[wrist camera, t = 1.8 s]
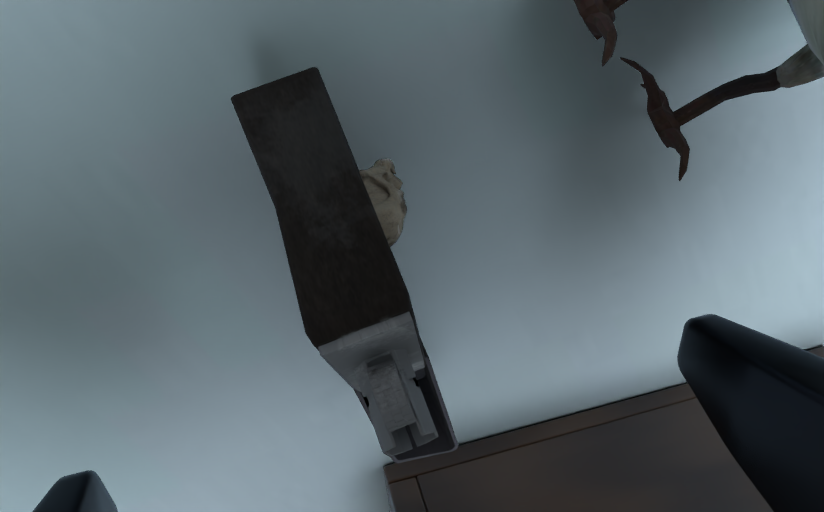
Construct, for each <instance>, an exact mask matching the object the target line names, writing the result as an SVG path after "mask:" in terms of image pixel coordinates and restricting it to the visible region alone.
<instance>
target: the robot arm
mask: <svg viewBox="0 0 824 512" xmlns="http://www.w3.org/2000/svg"><path fill="white" fill-rule="evenodd" d="M677 359H678V365H679V368H680V371H681V373H682V374H683V376H684V378H685V379H686V381H687V383H688V384H689V386H690V388H691V389H692V391H693V393H694V394H695V396H696V398H697V399H698V401H699V403H700V404H701V406H702V408H703V409H704V411H705V413H706V414H707V416H708V418H709V419H710V421H711V423H712V424H713V426H714V428H715V429H716V431H717V433H718V434H719V436H720V438H721V439H722V441H723V442H724V444H725V445H726V447H727V449H728V450H729V452H730V453H731V455H732V456H733V457H734V459H735V460H736V462H737V463H738V464H739V466H740V467H741V469H742V470H743V471H744V473H745V474H746V475H747V477H748V478H749V479H750V481H751V482H752V483H753V485H754V486H755V487H756V489H757V490H758V491H759V493H760V494H761V495H762V497H763V498H764V499H765V501H766V502H767V503H768V505H769V506H770V508H771V509H772V510H773V512H824V358H823V357H820V356H818V355H815V354H813V353H810V352H808V351H805V350H803V349H800V348H798V347H795V346H793V345H790V344H788V343H785V342H783V341H780V340H777V339H775V338H772V337H770V336H767V335H765V334H762V333H760V332H757V331H755V330H752V329H750V328H747V327H745V326H742V325H740V324H737V323H735V322H732V321H730V320H727V319H725V318H722V317H720V316H717V315H713V314H707V315H703V316H699V317H695V318H691V319H689V320H688V321H687V322H686V323H685V325H684V329H683V333H682V338H681V342H680V347H679V351H678V356H677ZM33 512H118V511H117V508H116V505H115V503H114V501H113V500H112V498H111V496H110V494H109V493H108V491H107V489H106V488H105V486H104V484H103V482H102V481H101V479H100V477H99V476H98V474H97V473H96V472H94V471H92V470H90V471H89V470H87V471H84V472H80V473H76V474H72V475H68V476H64V477H62V478H60V479H59V480H58V481H57V482H56V483H55V484H54V485H53V486H52V488H51V489H50V490H49V491H48V493H47V494H46V495H45V496H44V498H43V499H42V500H41V502H40V503H39V504H38V505H37V507H36V508H35V509H34V510H33Z"/></svg>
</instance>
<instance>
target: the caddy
mask: <svg viewBox="0 0 824 512" xmlns="http://www.w3.org/2000/svg"><path fill="white" fill-rule="evenodd" d="M808 352H810V353H813V354H815V355H818V356H820V357H823V358H824V346H822V347H819V348H815V349H811V350H808ZM384 475H385V481H386V487H387V493H388V500H389V506H390V512H773V510H772V509H771V508H770V506H769V505H768V503H767V502H766V501H765V499H764V498H763V497H762V495H761V494H760V493H759V491H758V490H757V489H756V487H755V486H754V485H753V483H752V482H751V481H750V479H749V478H748V477H747V475H746V474H745V473H744V471H743V470H742V469H741V467H740V466H739V464H738V463H737V462H736V460H735V459H734V457H733V456H732V455H731V453H730V452H729V450H728V449H727V447H726V445H725V444H724V442H723V441H722V439H721V438H720V436H719V434H718V433H717V431H716V429H715V428H714V426H713V424H712V423H711V421H710V419H709V418H708V416H707V414H706V413H705V411H704V409H703V408H702V406H701V404H700V403H699V401H698V399H697V398H696V396H695V394H694V393H693V391H692V389H691V388H690V386H689V384H688V383H687V384H683V385H680V386H676V387H672V388H669V389H665V390H661V391H658V392H654V393H650V394H647V395H643V396H639V397H636V398H632V399H628V400H625V401H621V402H617V403H614V404H610V405H606V406H603V407H599V408H595V409H592V410H588V411H584V412H581V413H577V414H573V415H570V416H566V417H562V418H559V419H555V420H552V421H548V422H544V423H541V424H537V425H533V426H530V427H526V428H522V429H519V430H515V431H511V432H508V433H504V434H500V435H497V436H493V437H489V438H486V439H482V440H478V441H475V442H471V443H467V444H464V445H460V446H458V448H457V449H456V450H455V451H453V452H448V453H443V454H439V455H434V456H429V457H425V458H420V459H416V460H411V461H406V462H402V463H394V464H391V465H387V466H385V467H384Z"/></svg>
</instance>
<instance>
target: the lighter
mask: <svg viewBox="0 0 824 512" xmlns="http://www.w3.org/2000/svg"><path fill="white" fill-rule="evenodd" d="M231 101H232V104H233V106H234V109H235V111H236V113H237V116H238V118H239V121H240V123H241V126H242V128H243V130H244V133H245V135H246V138H247V140H248V143H249V145H250V147H251V150H252V152H253V155H254V157H255V160H256V162H257V164H258V167H259V169H260V172H261V174H262V177H263V179H264V181H265V184H266V186H267V189H268V191H269V194H270V196H271V199H272V201H273V203H274V206H275V209H276V213H277V217H278V221H279V225H280V229H281V233H282V238H283V242H284V246H285V250H286V254H287V258H288V262H289V266H290V271H291V275H292V279H293V283H294V287H295V291H296V295H297V299H298V304H299V308H300V312H301V316H302V320H303V324H304V328H305V332H306V334H307V336H308V338H309V339H310V341H311V342H312V344H313V345H314V346H315V347H316V348H317V349H318V351H319V352H320V355H321V356H322V357H323V358H324V359H325V361H326V362H327V363H328V364H329V365H330V366H331V367H332V368H333V369H334V370H335V371H336V372H337V373H338V374H339V375H340V376H341V377H342V378H343V379H344V380H345V381H346V382H347V383H348V384H349V385H350V386H351V387H352V388H354V391H355V393H356V394H357V396H358V398H359V400H360V402H361V404H362V406H363V408H364V409H365V411H366V413H367V415H368V417H369V419H370V421H371V423H372V424H373V426H374V429H375V432H376V435H377V437H378V440H379V443H380V446H381V449H382V452H383V453H384V454H386V455H388V456H389V457H391V458H392V460H393V461H394V462H395V463H402V462H406V461H411V460H416V459H420V458H425V457H429V456H434V455H439V454H443V453H448V452H453V451H455V450H456V449H457V448H458V446H459V445H458V442H457V440H456V437H455V434H454V431H453V428H452V425H451V422H450V419H449V416H448V413H447V410H446V407H445V404H444V401H443V398H442V395H441V392H440V389H439V387H438V384H437V381H436V378H435V375H434V372H433V369H432V366H431V363H430V360H429V357H428V355H427V353H426V350H425V348H424V346H423V343H422V341H421V338H420V336H419V332H418V328H417V324H416V320H415V316H414V312H413V308H412V305H411V301H410V297H409V293H408V290H407V288H406V286H405V283H404V281H403V278H402V276H401V273H400V271H399V268H398V266H397V263H396V261H395V258H394V256H393V254H392V251H391V249H390V246H392V245H393V244H394V243H395V242H396V241H397V240H398V238H399V236H400V234H401V232H402V229H403V222H404V218H405V215H406V211H407V207H406V204H405V200H404V198H403V195H404V193H403V191H401V190H400V188H401V186H402V184H403V183H402V181H401V180H400V179H398V178H397V177H396V176H394V175H393V174H396V172H395V171H394V164H393V162H392V160H390V159H388V158H385V159H381V160H378V161H376V162H375V164H374V165H373V167H371V168H369V169H367V170H360V171H359V170H358V167H357V165H356V162H355V160H354V157H353V155H352V152H351V150H350V147H349V145H348V142H347V140H346V137H345V135H344V132H343V130H342V127H341V125H340V122H339V120H338V117H337V115H336V112H335V110H334V107H333V105H332V102H331V100H330V97H329V95H328V92H327V90H326V87H325V85H324V82H323V80H322V77H321V75H320V72H319V70H318V68H316V67H312V68H309V69H306V70H304V71H301V72H298V73H295V74H292V75H290V76H287V77H284V78H281V79H278V80H276V81H273V82H270V83H267V84H264V85H262V86H259V87H256V88H253V89H250V90H248V91H245V92H242V93H239V94H236V95H234V96H232V97H231Z"/></svg>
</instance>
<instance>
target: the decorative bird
mask: <svg viewBox="0 0 824 512" xmlns="http://www.w3.org/2000/svg"><path fill="white" fill-rule="evenodd" d="M627 1H628V0H574V2H575V4H576V6H577V9H578V11H579V13H580V15H581V17H582V19H583V20H584V22H585V24H586V25H587V27H588V29H589V30H590V32H591V33H592V34H593V36H594V37H595V38H596V39H597V40H598V39H599V38H601V37H603V38H604V39H605V45H604V51H603V58H602V66H604V65H605V63H606V62H607V61H608V60H609V59H610V58H611V57H612V55H613V52H614V48H615V45H616V40H617V31H616V28H615V26H614V23H613V22H614V20H615V13H614V10H615V9H617V8H618V7H620V6H621V5H623V4H624V3H625V2H627ZM787 1H788V3H789V5H790V7H791V9H792V12H793V14H794V16H795V18H796V20H797V22H798V24H799V26H800V29H801V31H802V33H803V35H804V37H805V39H806V41H807V43H808V44H807V45H805V46H804V47H803V48H802V49H800V50H799V51H798V52H796V53H795V54H794V55H793V56H791V57H790V58H789V59H788V60H786V61H785V62H784V63H782V64H781V65H780V66H778V67H776V68H774V69H772V70H770V71H768V72H766V73H762V74H754V75H745V76H743V77H740V78H738V79H735V80H733V81H730V82H728V83H725V84H723V85H721V86H719V87H717V88H715V89H713V90H711V91H709V92H707V93H706V94H704V95H702V96H700V97H698V98H697V99H695V100H693V101H692V102H690V103H688V104H686V105H685V106H683V107H681V108H680V109H678V110H676V111H674V112H673V111H672V110H671V108H670V107H669V103H668V99H667V97H666V95H665V92H664V91H662V90H660V89H659V87H658V85H657V83H656V81H655V79H654V77H653V75H652V74H650V73H649V72H648V71H646V70H645V69H644V68H643V67H641V66H640V65H639V64H638V63H636V62H635V61H632V60H628V59H625V58H621V57H620V59H621V60H622V61H624V62H626V63H627V64H629V65H630V66H632V67H633V68H635V69H636V70H638V71H639V72H640V73H641V75H642V79H643V82H644V84H640V85H641V86H642V87H644V88H645V89H646V92H647V95H648V98H647V112H648V115H649V117H650V119H651V121H652V123H653V126H654V128H655V130H656V132H657V133H658V135H659V137H660V138H661V140H662V142H663V143H664V144H665V146H666V147H667V148H668V147H672V148H674V149H675V150H676V151H677V152H678V153H679V155H680V156H681V157H680V168H679V181H680V180H681V179H682V177H683V176H684V174H685V172H686V171H687V166H688V159H689V151H690V148H689V146H688V144H687V141H686V139H685V138H684V136H683V134H682V133H681V131H680V126H682V125H683V124H685V123H687V122H689V121H690V120H692V119H694V118H696V117H697V116H699V115H701V114H703V113H704V112H706V111H708V110H710V109H711V108H713V107H715V106H716V105H718V104H720V103H722V102H723V101H725V100H729V99H733V98H737V97H740V96H744V95H748V94H752V93H758V92H767V91H774V90H776V89H778V88H780V87H785V88H790V87H794V86H798V85H802V84H805V83H808V82H811V81H814V80H816V79H819V78H822V77H824V0H787Z"/></svg>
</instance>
